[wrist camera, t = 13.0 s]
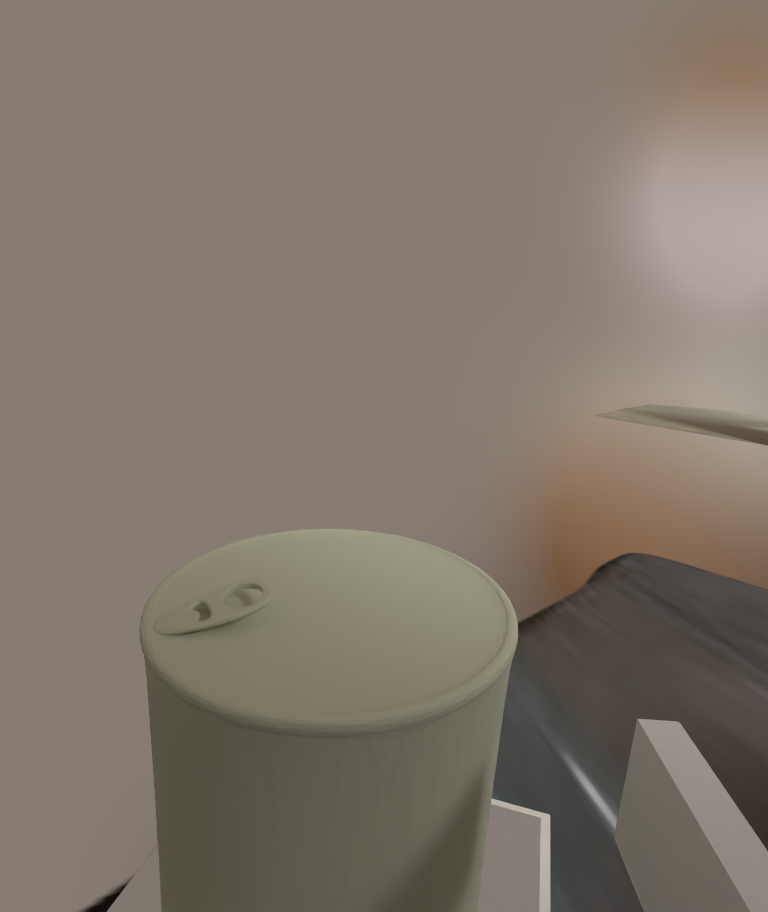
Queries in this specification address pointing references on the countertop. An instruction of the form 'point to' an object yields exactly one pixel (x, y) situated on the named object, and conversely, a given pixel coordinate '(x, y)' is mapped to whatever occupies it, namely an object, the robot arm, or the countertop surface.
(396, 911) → the can
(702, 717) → the countertop surface
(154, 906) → the scale pan
